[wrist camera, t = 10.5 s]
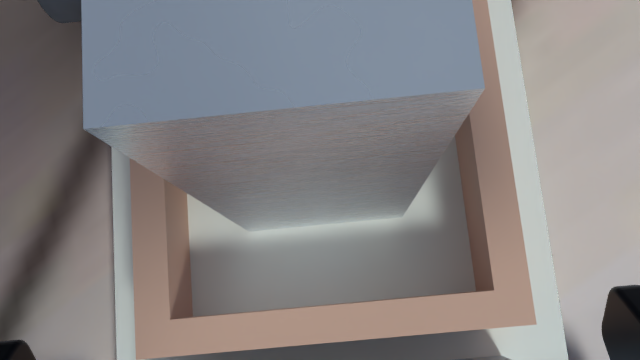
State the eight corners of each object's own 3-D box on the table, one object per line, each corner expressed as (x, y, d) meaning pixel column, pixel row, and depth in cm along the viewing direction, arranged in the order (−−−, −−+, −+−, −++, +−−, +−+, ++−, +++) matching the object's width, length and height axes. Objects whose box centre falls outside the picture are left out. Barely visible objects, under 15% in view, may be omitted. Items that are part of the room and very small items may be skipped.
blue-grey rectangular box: (402, 217, 20) (484, 88, 7) (249, 231, 20) (82, 129, 8) (385, 70, 21) (434, -257, 8) (239, 85, 21) (77, -214, 9)
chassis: (651, 616, 18) (743, 715, 14) (87, 656, 19) (10, 763, 15) (520, -145, 23) (558, -245, 19) (76, -94, 24) (16, -180, 20)
